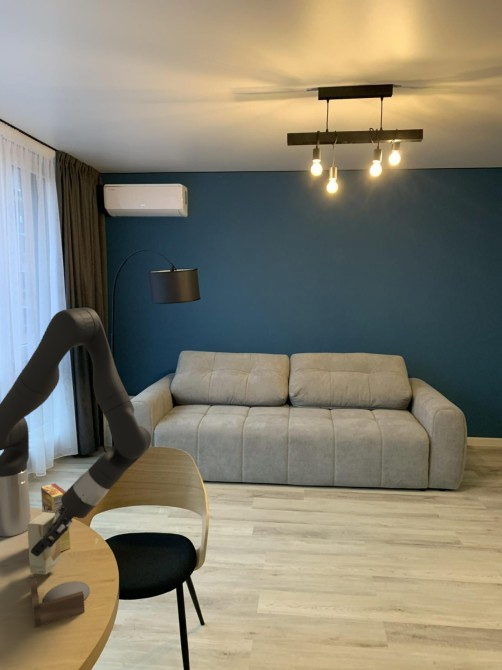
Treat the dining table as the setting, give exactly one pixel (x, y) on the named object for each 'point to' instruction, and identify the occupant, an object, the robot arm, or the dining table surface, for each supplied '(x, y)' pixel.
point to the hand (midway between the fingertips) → (37, 544)
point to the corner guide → (54, 606)
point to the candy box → (55, 508)
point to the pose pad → (67, 590)
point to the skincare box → (49, 555)
